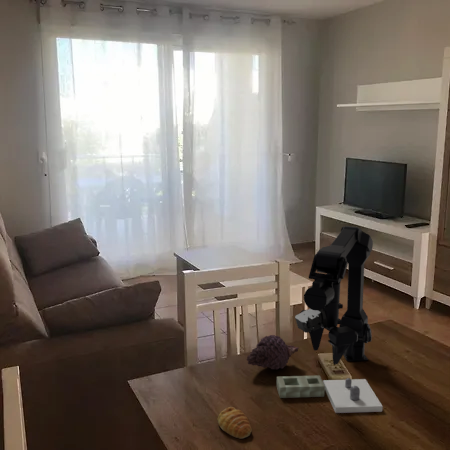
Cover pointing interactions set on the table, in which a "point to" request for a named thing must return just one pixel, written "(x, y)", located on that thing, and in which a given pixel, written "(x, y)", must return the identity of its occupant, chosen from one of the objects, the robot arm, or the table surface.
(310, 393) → the bar
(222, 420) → the pastry
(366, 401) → the post board
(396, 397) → the table surface
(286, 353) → the pine cone
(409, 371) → the table surface
